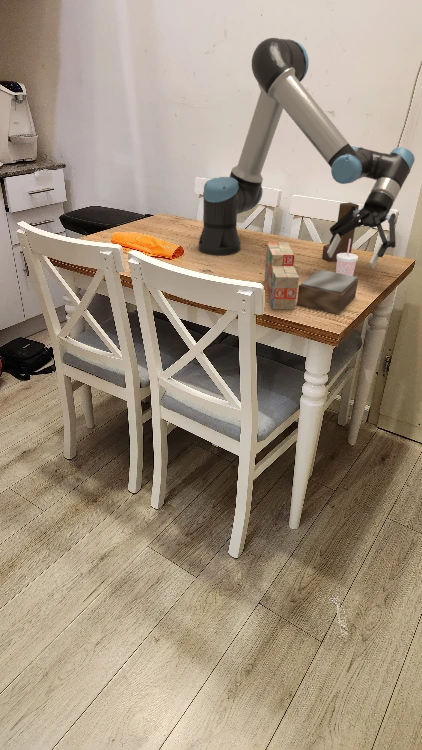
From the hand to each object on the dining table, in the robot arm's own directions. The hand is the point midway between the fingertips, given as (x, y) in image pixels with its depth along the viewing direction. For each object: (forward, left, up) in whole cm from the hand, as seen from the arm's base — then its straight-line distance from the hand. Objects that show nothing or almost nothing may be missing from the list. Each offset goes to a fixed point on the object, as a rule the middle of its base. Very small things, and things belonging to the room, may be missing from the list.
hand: (349, 260), depth 141 cm
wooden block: (-11, +23, -8) cm, 26 cm away
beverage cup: (-1, 0, -8) cm, 8 cm away
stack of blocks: (-14, -17, -8) cm, 24 cm away
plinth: (-1, -14, -8) cm, 16 cm away
